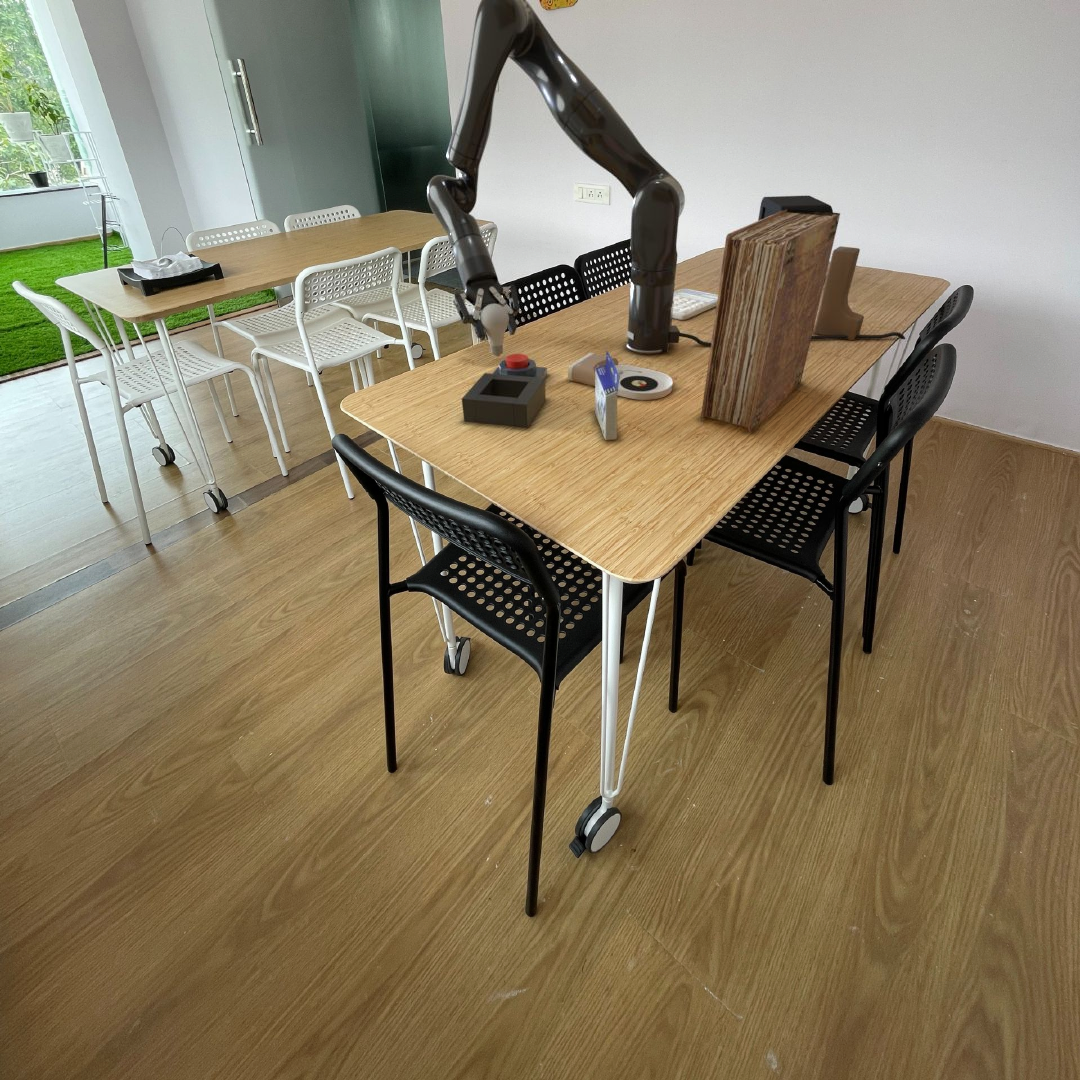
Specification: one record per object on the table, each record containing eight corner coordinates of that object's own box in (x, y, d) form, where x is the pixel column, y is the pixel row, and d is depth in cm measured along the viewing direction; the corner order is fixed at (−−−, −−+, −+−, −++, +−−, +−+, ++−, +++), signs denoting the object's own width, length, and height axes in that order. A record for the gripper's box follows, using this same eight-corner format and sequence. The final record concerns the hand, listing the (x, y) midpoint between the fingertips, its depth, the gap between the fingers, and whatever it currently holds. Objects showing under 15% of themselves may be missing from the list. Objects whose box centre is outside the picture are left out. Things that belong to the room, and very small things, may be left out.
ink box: (593, 412, 113) (594, 350, 106) (605, 411, 113) (608, 349, 106) (603, 441, 104) (606, 376, 97) (617, 440, 104) (620, 375, 97)
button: (531, 362, 125) (530, 354, 124) (524, 371, 122) (524, 362, 121) (510, 361, 126) (509, 352, 125) (503, 369, 123) (503, 360, 122)
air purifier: (820, 285, 174) (838, 205, 162) (768, 286, 175) (783, 207, 163) (797, 267, 191) (812, 194, 179) (749, 268, 191) (762, 195, 179)
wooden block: (859, 335, 141) (883, 250, 131) (853, 341, 139) (877, 254, 128) (819, 328, 146) (839, 245, 135) (812, 333, 143) (832, 249, 132)
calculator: (639, 311, 160) (640, 303, 159) (683, 293, 171) (684, 286, 170) (683, 321, 153) (684, 313, 151) (725, 302, 164) (727, 295, 163)
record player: (594, 350, 130) (683, 369, 121) (594, 364, 132) (681, 384, 122) (565, 368, 122) (657, 390, 113) (564, 383, 124) (655, 406, 115)
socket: (545, 400, 118) (545, 377, 115) (527, 428, 109) (526, 404, 106) (486, 395, 121) (484, 372, 118) (464, 421, 111) (461, 398, 109)
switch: (547, 375, 128) (546, 358, 126) (536, 390, 122) (535, 373, 119) (501, 371, 130) (500, 355, 128) (488, 386, 124) (487, 369, 122)
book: (749, 433, 105) (787, 241, 87) (699, 420, 109) (725, 234, 91) (800, 383, 121) (841, 212, 103) (755, 373, 125) (786, 208, 107)
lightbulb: (507, 361, 132) (503, 309, 125) (480, 360, 133) (475, 308, 126) (514, 351, 137) (511, 300, 130) (487, 350, 138) (483, 299, 131)
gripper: (444, 258, 126) (469, 332, 125) (509, 249, 131) (534, 321, 129) (440, 279, 134) (463, 350, 132) (502, 270, 138) (525, 338, 136)
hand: (498, 335), depth 131 cm, fingers closed on lightbulb, 6 cm apart
